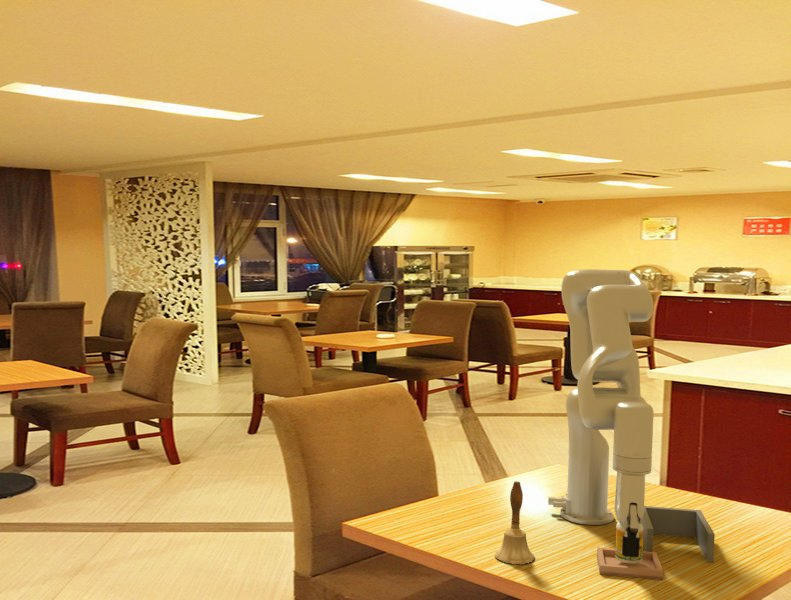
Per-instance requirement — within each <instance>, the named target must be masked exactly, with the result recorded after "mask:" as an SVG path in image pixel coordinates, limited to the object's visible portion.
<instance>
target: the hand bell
mask: <svg viewBox="0 0 791 600" xmlns="http://www.w3.org/2000/svg"><path fill="white" fill-rule="evenodd" d="M509 497H510V498H509V500H510V502H509V503H510V506H511V513H512V514H511V524H510V528H508V529H506V530H505V531H504V532H503V533H504V535H503V540H502V543H501V546H500V547H499V549H497V550H496V552H495V553H494V558H495V557H496V558H497V559H499V560H501V561H503V562H502V563H504V562H507V563H506V564H508V563H513V564H512V565H516V564H520V565H526V564H525V563H528V562H531V561H533V560H534V559H536V557H535V555H534V553H533V552H532V551H531V549H530V548H529V545H528V540H527V533H526V532H525V530H523V529H521V528H520V523H521V522H520V520H521V519H520V512H521V509H522V505H523V500H524V495H523V490H522V487H521V481H513V485H512V487H511V490H510V496H509ZM496 558H495V559H496ZM499 560H498V561H499ZM501 561H500V562H501ZM534 561H535V560H534ZM534 561H533V562H534ZM523 563H524V564H523ZM531 563H532V562H531ZM528 564H529V563H528Z"/></svg>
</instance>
